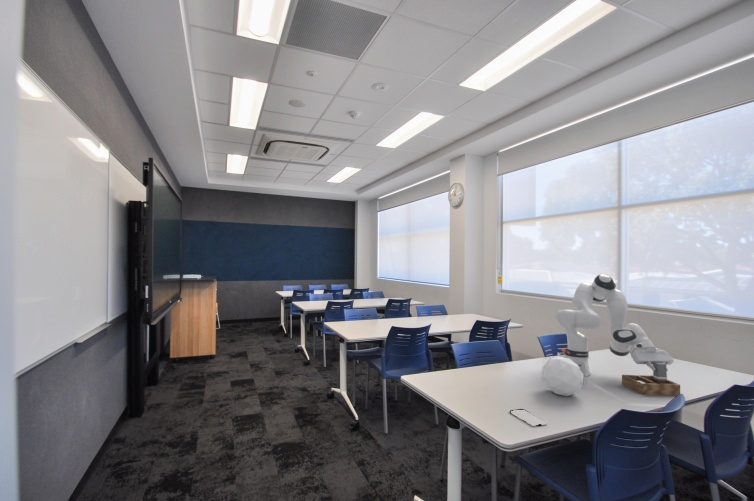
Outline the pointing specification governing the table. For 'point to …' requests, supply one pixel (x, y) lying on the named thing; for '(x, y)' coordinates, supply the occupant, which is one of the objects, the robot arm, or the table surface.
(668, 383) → the parts box
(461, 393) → the table surface
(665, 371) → the connector
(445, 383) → the table surface
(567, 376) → the geometric polyhedron
